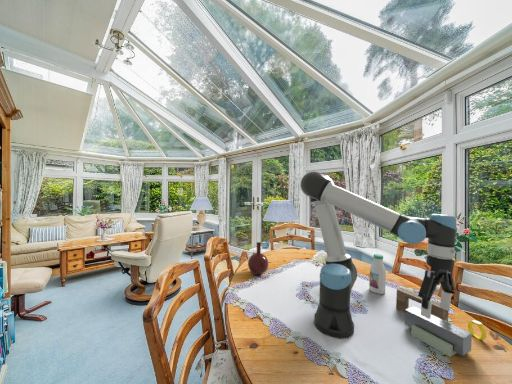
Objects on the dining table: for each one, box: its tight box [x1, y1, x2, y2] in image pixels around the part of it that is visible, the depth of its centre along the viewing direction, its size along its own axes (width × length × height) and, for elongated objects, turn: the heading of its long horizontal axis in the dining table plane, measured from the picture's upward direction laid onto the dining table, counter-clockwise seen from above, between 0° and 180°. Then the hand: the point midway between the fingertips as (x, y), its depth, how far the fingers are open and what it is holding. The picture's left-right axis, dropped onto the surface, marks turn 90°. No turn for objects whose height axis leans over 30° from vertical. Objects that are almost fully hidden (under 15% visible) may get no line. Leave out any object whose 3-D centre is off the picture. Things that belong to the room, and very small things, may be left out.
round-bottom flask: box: [247, 241, 269, 275], centre depth 137 cm, size 13×13×20 cm
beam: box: [395, 287, 449, 322], centre depth 93 cm, size 4×18×9 cm, turn 26°
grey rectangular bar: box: [404, 306, 473, 357], centre depth 79 cm, size 18×6×6 cm, turn 25°
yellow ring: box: [467, 319, 487, 341], centre depth 82 cm, size 6×3×6 cm, turn 175°
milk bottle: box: [368, 253, 387, 295], centre depth 117 cm, size 8×8×20 cm
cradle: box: [410, 325, 457, 358], centre depth 79 cm, size 12×10×4 cm
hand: (435, 312), depth 79 cm, fingers open, 13 cm apart
